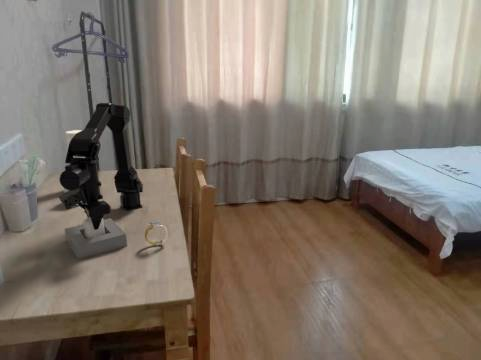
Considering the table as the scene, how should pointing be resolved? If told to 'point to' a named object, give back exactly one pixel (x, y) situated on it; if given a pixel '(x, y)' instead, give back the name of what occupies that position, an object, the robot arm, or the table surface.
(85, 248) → the holder block
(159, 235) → the table surface
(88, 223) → the eye dropper bottle
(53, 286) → the table surface
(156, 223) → the bracelet
